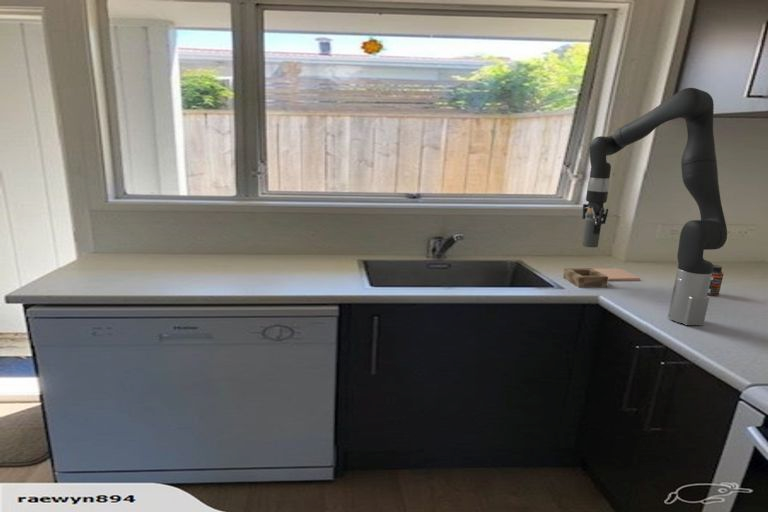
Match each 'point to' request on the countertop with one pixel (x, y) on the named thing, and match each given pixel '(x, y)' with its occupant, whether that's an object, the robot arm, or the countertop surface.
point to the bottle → (590, 231)
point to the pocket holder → (585, 277)
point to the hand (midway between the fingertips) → (591, 232)
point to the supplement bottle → (715, 281)
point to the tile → (617, 275)
